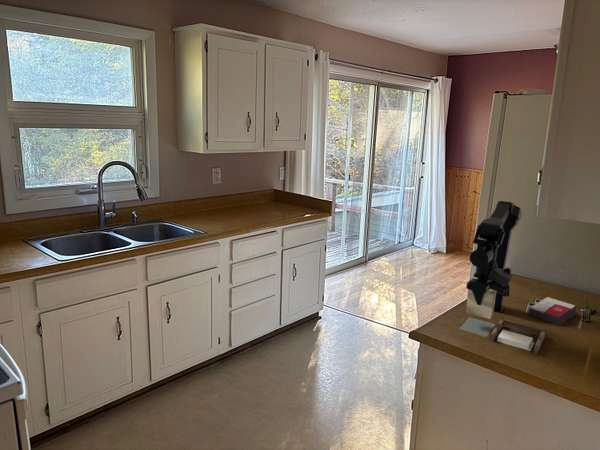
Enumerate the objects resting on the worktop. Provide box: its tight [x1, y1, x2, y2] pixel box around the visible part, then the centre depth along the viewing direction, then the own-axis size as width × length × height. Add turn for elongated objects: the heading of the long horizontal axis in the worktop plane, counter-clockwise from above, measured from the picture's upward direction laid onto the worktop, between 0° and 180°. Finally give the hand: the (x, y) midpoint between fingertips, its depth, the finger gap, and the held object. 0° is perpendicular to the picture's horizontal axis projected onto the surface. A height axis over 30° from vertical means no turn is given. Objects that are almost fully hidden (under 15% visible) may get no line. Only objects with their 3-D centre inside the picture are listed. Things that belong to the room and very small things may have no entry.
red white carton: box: [528, 296, 577, 326], centre depth 172 cm, size 11×4×15 cm
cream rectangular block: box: [465, 289, 496, 320], centre depth 157 cm, size 4×8×9 cm, turn 54°
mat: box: [459, 316, 496, 338], centre depth 159 cm, size 12×9×1 cm
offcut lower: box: [497, 341, 535, 352], centre depth 149 cm, size 7×10×1 cm
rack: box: [489, 318, 547, 356], centre depth 151 cm, size 15×14×3 cm
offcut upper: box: [496, 329, 534, 350], centre depth 149 cm, size 6×9×1 cm
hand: (480, 302), depth 157 cm, fingers closed on cream rectangular block, 4 cm apart
